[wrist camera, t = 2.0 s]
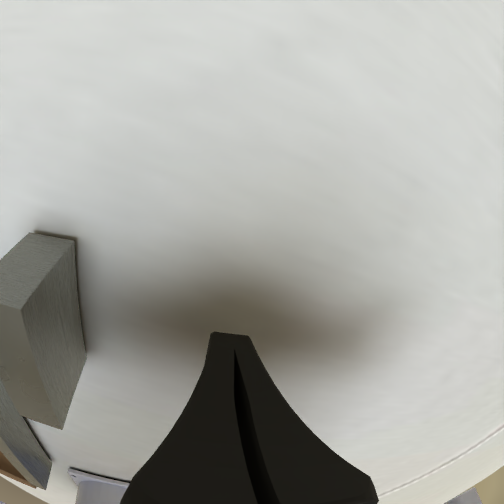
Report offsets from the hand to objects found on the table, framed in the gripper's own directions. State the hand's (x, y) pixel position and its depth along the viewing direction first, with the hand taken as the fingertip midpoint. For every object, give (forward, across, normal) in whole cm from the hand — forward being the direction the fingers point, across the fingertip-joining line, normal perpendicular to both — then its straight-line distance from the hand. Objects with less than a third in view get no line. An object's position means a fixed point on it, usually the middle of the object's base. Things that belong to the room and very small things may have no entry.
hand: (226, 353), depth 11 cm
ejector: (+1, +10, +9) cm, 13 cm away
